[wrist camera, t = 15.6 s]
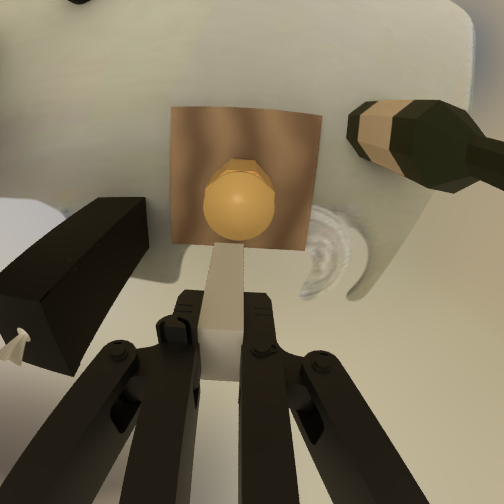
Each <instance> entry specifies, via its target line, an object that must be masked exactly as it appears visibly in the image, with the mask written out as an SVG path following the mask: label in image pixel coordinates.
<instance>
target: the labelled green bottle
mask: <svg viewBox="0 0 504 504" xmlns="http://www.w3.org/2000/svg"><path fill="white" fill-rule="evenodd" d="M346 138H347V139H348V141H349V142H350V144H351V145H352V146H353V148H354V149H355V150H356V152H357V153H358V155H359V156H360V157H362V158H364V159H367V160H369V161H371V162H374V163H376V164H378V165H381V166H383V167H385V168H387V169H389V170H392V171H394V172H396V173H398V174H400V175H402V176H404V177H406V178H408V179H410V180H413V181H415V182H417V183H419V184H421V185H422V186H424V187H426V188H429V189H434V190H440V191H444V192H449V193H453V194H454V193H456V192H458V191H460V190H462V189H464V188H466V187H468V186H470V185H472V184H473V183H475V182H477V181H479V180H481V181H483V182H486V183H488V184H490V185H492V186H494V187H496V188H499V189H501V190H503V191H504V142H503V141H499V140H495V139H491V138H487V137H485V135H484V134H483V132H482V131H481V130H480V128H479V127H478V126H477V124H476V123H475V122H474V121H473V119H472V118H471V117H470V116H469V114H468V113H467V112H466V111H465V110H463V109H460V108H458V107H456V106H453V105H451V104H448V103H446V102H443V101H441V100H388V101H370V102H365V103H363V104H362V105H361V106H359V107H358V108H357V109H356V110H354V111H353V112H352V113H350V114H349V117H348V127H347V137H346Z"/></svg>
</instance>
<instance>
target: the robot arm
mask: <svg viewBox="0 0 504 504" xmlns="http://www.w3.org/2000/svg"><path fill="white" fill-rule="evenodd" d="M243 283H244V244H235V243H214V248H213V253H212V257H211V262H210V267H209V272H208V277H207V281H206V286H205V291H199V290H184V291H183V292H182V293H181V294H180V295H179V296H178V299H177V302H176V305H175V308H174V312H173V315H168V316H165V317H163V318H162V319H160V320H159V321H158V322H157V324H156V330H157V336H158V341H159V344H157V345H154V346H151V347H146V348H139V349H136V348H135V346H134V345H133V344H132V343H130V342H129V341H125V340H115V341H112V342H110V343H108V344H107V345H105V346H104V347H103V348H102V349H101V351H100V352H99V353H98V354H97V356H96V357H95V358H94V359H93V360H92V362H91V363H90V364H89V365H88V367H87V368H86V369H85V371H84V372H83V373H82V374H81V375H80V377H79V378H78V379H77V381H76V382H75V383H74V384H73V386H72V387H71V388H70V390H69V391H68V392H67V393H66V395H65V396H64V397H63V399H62V400H61V401H60V403H59V404H58V405H57V407H56V408H55V409H54V410H53V412H52V413H51V414H50V416H49V417H48V418H47V420H46V421H45V423H44V424H43V425H42V427H41V428H40V429H39V431H38V432H37V434H36V435H35V436H34V438H33V439H32V441H31V442H30V443H29V445H28V446H27V448H26V449H25V450H24V452H23V453H22V455H21V456H20V458H19V459H18V461H17V462H16V464H15V465H14V467H13V468H12V470H11V471H10V473H9V474H8V476H7V477H6V479H5V480H4V482H3V484H2V485H1V487H0V504H92V502H93V500H94V499H95V497H96V495H97V493H98V492H99V489H100V488H101V486H102V484H103V482H104V481H105V479H106V477H107V475H108V473H109V472H110V470H111V468H112V466H113V464H114V462H115V461H116V459H117V457H118V455H119V454H120V452H121V450H122V448H123V446H124V445H125V443H126V441H127V439H128V438H129V436H130V434H131V432H132V431H133V429H134V427H135V425H136V427H135V431H134V436H133V440H132V444H131V448H130V453H129V457H128V462H127V466H126V471H125V476H124V481H123V486H122V491H121V496H120V502H119V504H190V491H191V479H192V467H193V457H194V445H195V436H196V426H197V417H198V408H199V399H200V377H201V379H204V380H218V381H239V382H240V384H239V399H238V400H239V401H238V404H239V443H238V444H239V445H238V448H239V450H238V504H300V503H299V494H298V485H297V475H296V466H295V458H294V449H293V441H292V432H291V424H290V416H289V408H290V409H291V412H292V414H293V417H294V419H295V421H296V423H297V426H298V428H299V430H300V432H301V435H302V437H303V439H304V441H305V443H306V446H307V448H308V450H309V452H310V454H311V457H312V459H313V461H314V463H315V465H316V467H317V470H318V472H319V474H320V476H321V478H322V480H323V482H324V485H325V487H326V489H327V491H328V493H329V495H330V497H331V499H332V502H333V504H429V502H428V500H427V499H426V497H425V495H424V494H423V492H422V491H421V489H420V487H419V486H418V484H417V482H416V481H415V479H414V478H413V476H412V474H411V473H410V471H409V469H408V468H407V466H406V465H405V463H404V461H403V460H402V458H401V457H400V455H399V453H398V452H397V450H396V449H395V447H394V446H393V444H392V442H391V441H390V439H389V437H388V436H387V434H386V433H385V431H384V430H383V428H382V426H381V425H380V423H379V422H378V420H377V418H376V417H375V415H374V414H373V412H372V411H371V409H370V407H369V406H368V404H367V403H366V401H365V400H364V398H363V397H362V395H361V393H360V392H359V390H358V389H357V387H356V386H355V384H354V383H353V381H352V379H351V378H350V376H349V375H348V373H347V372H346V370H345V369H344V367H343V366H342V364H341V362H340V361H339V360H338V358H336V356H335V355H333V354H331V353H329V352H326V351H322V350H320V351H319V350H318V351H312V352H310V353H308V354H307V355H306V356H305V357H301V356H296V355H293V354H290V353H288V352H286V351H284V350H283V349H282V348H281V347H280V346H279V345H278V343H277V340H276V333H275V326H274V318H273V311H272V303H271V299H270V298H269V297H268V296H267V294H266V293H253V292H244V284H243Z"/></svg>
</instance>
